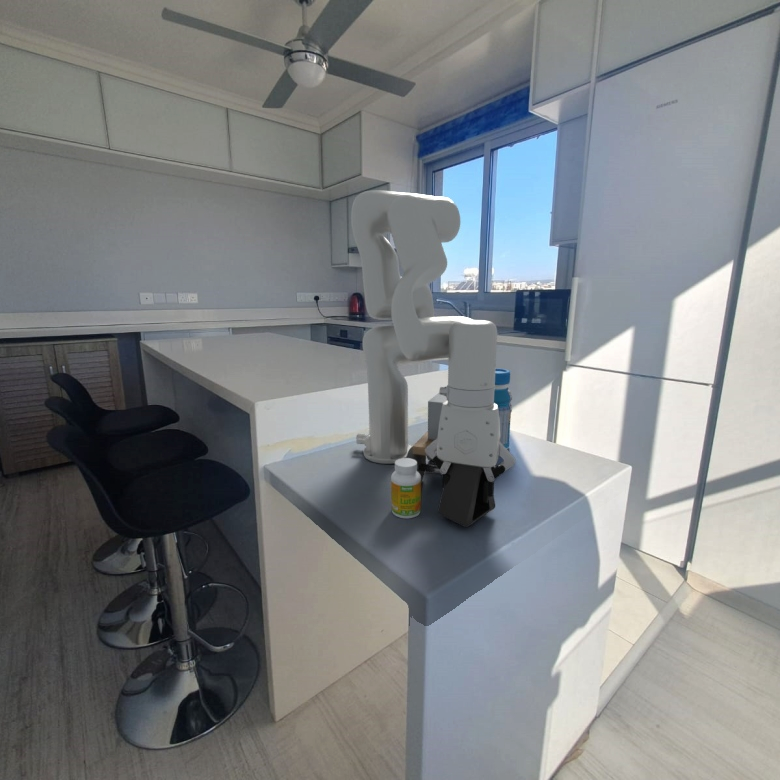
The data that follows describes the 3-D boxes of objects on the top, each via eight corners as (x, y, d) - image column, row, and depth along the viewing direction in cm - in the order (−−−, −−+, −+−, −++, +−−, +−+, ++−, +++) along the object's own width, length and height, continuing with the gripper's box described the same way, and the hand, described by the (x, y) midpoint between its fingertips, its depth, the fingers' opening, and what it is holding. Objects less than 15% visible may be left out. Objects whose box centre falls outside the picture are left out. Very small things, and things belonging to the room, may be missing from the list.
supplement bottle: (399, 522, 72) (398, 470, 70) (387, 507, 77) (386, 459, 75) (426, 515, 74) (426, 465, 72) (412, 501, 79) (412, 454, 77)
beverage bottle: (493, 455, 100) (497, 375, 96) (469, 445, 107) (471, 369, 102) (516, 448, 105) (521, 371, 100) (492, 439, 112) (495, 366, 107)
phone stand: (465, 528, 68) (467, 460, 65) (437, 514, 72) (438, 449, 69) (495, 508, 74) (498, 445, 71) (468, 496, 78) (470, 436, 75)
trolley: (478, 505, 77) (482, 415, 73) (404, 491, 83) (403, 407, 79) (497, 461, 97) (500, 388, 93) (435, 452, 103) (436, 383, 99)
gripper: (413, 397, 68) (413, 496, 72) (523, 407, 61) (516, 516, 65) (427, 387, 75) (427, 478, 79) (527, 395, 68) (521, 494, 72)
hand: (467, 494), depth 72 cm, fingers closed on phone stand, 6 cm apart
